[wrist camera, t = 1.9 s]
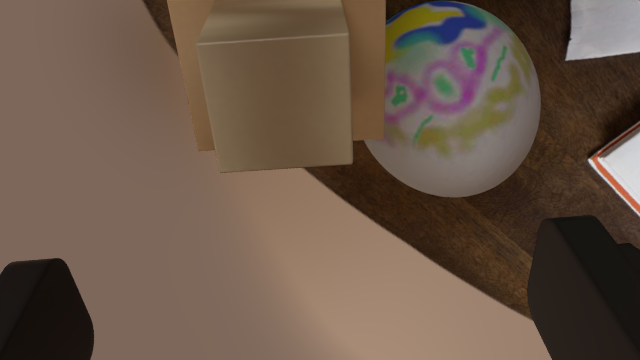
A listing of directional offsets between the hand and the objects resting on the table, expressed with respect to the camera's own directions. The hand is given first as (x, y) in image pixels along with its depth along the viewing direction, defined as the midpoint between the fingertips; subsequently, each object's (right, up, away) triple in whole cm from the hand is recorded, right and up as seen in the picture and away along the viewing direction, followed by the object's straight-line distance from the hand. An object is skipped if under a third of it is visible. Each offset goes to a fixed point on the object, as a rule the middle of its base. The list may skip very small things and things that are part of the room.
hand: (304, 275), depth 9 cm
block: (-1, +6, +12) cm, 13 cm away
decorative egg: (+8, +11, +33) cm, 36 cm away
